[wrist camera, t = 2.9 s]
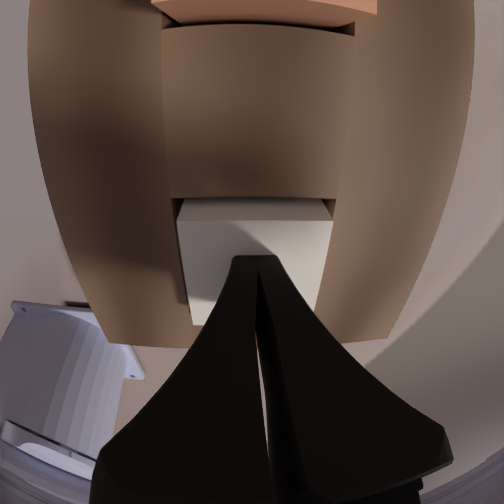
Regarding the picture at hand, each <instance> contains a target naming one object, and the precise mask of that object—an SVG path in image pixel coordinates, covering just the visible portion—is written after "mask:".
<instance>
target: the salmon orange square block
mask: <svg viewBox="0 0 504 504" xmlns="http://www.w3.org/2000/svg"><path fill="white" fill-rule="evenodd" d="M151 3H152V4H153V5H155V6H156V7H158V8H159V9H160V10H162V11H163V12H165V13H166V14H168V15H169V16H170V17H172V18H173V19H175V20H176V21H177V22H179V23H180V24H181V25H182V24H192V23H206V22H270V23H284V24H295V25H304V26H312V27H319V28H325V29H334V28H337V27H340V26H343V25H345V24H348V23H352V22H355V21H358V20H361V19H364V18H368V17H371V16H375V15H377V0H151Z"/></svg>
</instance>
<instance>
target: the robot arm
mask: <svg viewBox="0 0 504 504" xmlns="http://www.w3.org/2000/svg"><path fill="white" fill-rule="evenodd" d="M11 307H12V309H13V311H14V312H15V315H14V317H13V318H12V320H11V322H10V324H9V326H8V328H7V329H6V331H5V333H4V335H3V337H2V339H1V341H0V504H504V447H503V448H502V449H500V450H499V451H497V452H496V453H494V454H493V455H491V456H490V457H488V458H487V459H486V461H485V462H483V463H481V464H480V465H478V466H477V467H475V468H473V469H471V470H470V471H468V472H466V473H464V474H463V475H461V476H459V477H457V478H455V479H453V480H451V481H450V482H448V483H445V484H443V485H441V486H439V487H437V488H435V489H433V490H431V491H429V492H426V493H424V494H422V495H419V492H418V491H419V490H421V489H423V482H422V477H424V476H427V475H429V474H431V473H433V472H436V471H438V470H440V469H442V468H444V467H446V466H448V465H450V464H452V462H453V460H454V459H453V455H452V451H451V447H450V444H449V440H448V438H447V435H446V432H445V430H444V428H443V426H441V425H440V424H438V423H437V422H435V421H433V420H432V419H430V418H429V417H427V416H426V415H424V414H422V413H421V412H419V411H418V410H416V409H415V408H413V407H412V406H410V405H409V404H407V403H406V402H405V401H403V400H402V399H401V398H399V397H398V396H397V395H395V394H394V393H393V392H391V391H390V390H389V389H388V388H387V387H386V386H384V385H383V384H382V383H381V382H380V381H378V379H376V378H375V377H374V376H373V375H372V374H370V373H369V372H368V371H367V370H366V369H365V368H364V367H363V366H362V365H361V364H360V363H358V362H357V361H356V360H355V359H354V358H353V357H352V356H351V355H350V354H349V353H348V352H347V351H346V349H345V348H344V347H343V346H342V345H341V344H340V343H339V342H338V341H337V340H336V339H335V338H334V336H333V335H332V334H331V333H330V332H329V331H328V329H327V328H326V327H325V326H324V325H323V323H322V322H321V321H320V320H319V318H318V317H317V316H316V315H315V313H314V312H313V311H312V309H311V308H310V307H309V305H308V304H307V302H306V301H305V299H304V298H303V297H302V295H301V294H300V292H299V291H298V289H297V288H296V286H295V285H294V283H293V282H292V280H291V279H290V277H289V275H288V274H287V272H286V270H285V269H284V267H283V265H282V263H281V261H280V259H279V258H278V257H277V256H276V255H235V256H234V257H233V258H232V262H231V266H230V270H229V273H228V276H227V278H226V281H225V284H224V286H223V288H222V290H221V293H220V295H219V297H218V299H217V302H216V304H215V306H214V308H213V310H212V311H211V313H210V315H209V317H208V319H207V321H206V322H205V324H204V326H203V328H202V330H201V331H200V333H199V335H198V336H197V338H196V340H195V341H194V343H193V344H192V346H191V347H190V349H189V350H188V352H187V353H186V355H185V356H184V358H183V359H182V360H181V362H180V363H179V364H178V366H177V367H176V369H175V370H174V371H173V373H172V374H171V375H170V377H169V378H168V379H167V380H166V382H165V383H164V384H163V385H162V387H161V388H160V389H159V390H158V391H157V392H156V393H155V395H154V396H153V397H152V398H151V399H150V400H149V401H148V402H147V404H146V405H145V406H144V407H143V408H142V409H141V410H140V411H139V413H138V414H137V415H136V416H135V417H134V418H133V419H132V420H131V421H130V422H129V423H128V424H127V425H126V426H125V427H123V428H122V429H121V430H120V431H119V432H118V433H117V434H116V435H115V436H114V437H113V438H112V435H113V429H114V424H115V419H116V413H117V408H118V403H119V399H120V394H121V389H122V385H123V380H124V378H129V379H138V380H142V379H144V376H145V374H144V372H143V370H142V368H141V366H140V364H139V362H138V360H137V358H136V356H135V354H134V352H133V350H132V348H131V346H130V345H124V344H114V343H109V342H108V340H107V339H106V337H105V335H104V333H103V331H102V329H101V327H100V325H99V323H98V321H97V319H96V317H95V315H94V313H93V311H92V309H91V308H80V307H68V306H58V305H47V304H39V303H30V302H22V301H13V302H12V303H11ZM255 333H256V335H255ZM256 339H257V346H258V352H259V359H260V365H261V371H262V377H263V384H264V390H265V399H266V414H267V432H268V451H267V443H266V435H265V426H264V417H263V408H262V399H261V389H260V379H259V368H258V358H257V346H256ZM268 453H269V459H268Z"/></svg>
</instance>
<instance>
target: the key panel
mask: <svg viewBox="0 0 504 504" xmlns="http://www.w3.org/2000/svg"><path fill="white" fill-rule="evenodd" d="M474 41H475V22H474V0H377V15H375V16H371V17H368V18H364V19H361V20H358V21H355V22H352V23H348V24H345V25H343V26H340V27H337V28H334V29H325V28H319V27H312V26H304V25H295V24H284V23H270V22H206V23H192V24H182V25H181V24H180V23H179V22H177V21H176V20H175V19H173V18H172V17H170V16H169V15H168V14H166V13H165V12H163V11H162V10H160V9H159V8H158V7H156V6H155V5H153V4H152V3H151V0H30V9H29V22H28V75H29V90H30V100H31V109H32V116H33V124H34V130H35V136H36V142H37V147H38V153H39V157H40V162H41V167H42V171H43V175H44V179H45V183H46V187H47V191H48V195H49V198H50V202H51V205H52V209H53V212H54V215H55V218H56V222H57V225H58V228H59V231H60V234H61V237H62V239H63V242H64V245H65V248H66V250H67V253H68V256H69V258H70V261H71V263H72V266H73V268H74V271H75V273H76V276H77V278H78V280H79V283H80V285H81V287H82V290H83V292H84V294H85V296H86V298H87V301H88V303H89V305H90V307H91V309H92V311H93V313H94V315H95V317H96V319H97V321H98V323H99V325H100V327H101V329H102V331H103V333H104V335H105V337H106V339H107V340H108V342H109V343H114V344H124V345H136V346H149V347H166V348H190V347H191V346H192V344H193V343H194V341H195V340H196V338H197V336H198V335H199V333H200V331H201V330H202V328H203V326H204V325H193V321H192V316H191V311H190V305H189V300H188V294H187V288H186V282H185V276H184V270H183V264H182V257H181V251H180V244H179V237H178V229H177V222H176V221H177V218H178V216H179V213H180V210H181V207H182V204H183V202H184V199H185V198H201V197H295V198H321V199H322V201H323V203H324V205H325V206H326V208H327V210H328V212H329V214H330V216H331V217H332V219H333V221H334V222H333V227H332V232H331V237H330V242H329V247H328V252H327V256H326V261H325V266H324V270H323V275H322V279H321V283H320V288H319V292H318V296H317V300H316V304H315V308H314V313H315V315H316V316H317V317H318V318H319V320H320V321H321V322H322V323H323V325H324V326H325V327H326V328H327V329H328V331H329V332H330V333H331V334H332V335H333V336H334V338H335V339H336V340H337V341H338V342H339V343H340V344H341V343H351V342H360V341H368V340H376V339H383V338H387V337H388V335H389V334H390V332H391V330H392V328H393V326H394V324H395V323H396V321H397V319H398V317H399V315H400V313H401V311H402V309H403V307H404V305H405V303H406V301H407V299H408V297H409V295H410V293H411V291H412V289H413V286H414V284H415V282H416V280H417V278H418V275H419V273H420V271H421V269H422V266H423V264H424V262H425V259H426V257H427V254H428V252H429V249H430V247H431V244H432V242H433V239H434V236H435V234H436V231H437V228H438V225H439V223H440V220H441V217H442V214H443V211H444V208H445V205H446V202H447V199H448V195H449V192H450V189H451V185H452V182H453V178H454V174H455V171H456V167H457V163H458V159H459V155H460V150H461V146H462V141H463V136H464V131H465V126H466V121H467V115H468V109H469V102H470V94H471V86H472V76H473V64H474ZM255 335H256V333H255ZM256 346H257V339H256ZM257 349H258V346H257Z"/></svg>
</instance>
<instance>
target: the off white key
mask: <svg viewBox="0 0 504 504" xmlns="http://www.w3.org/2000/svg"><path fill="white" fill-rule="evenodd" d="M176 222H177V229H178V237H179V244H180V251H181V257H182V264H183V270H184V276H185V282H186V288H187V294H188V300H189V305H190V311H191V316H192V321H193V325H204V324H205V322H206V321H207V319H208V317H209V315H210V313H211V311H212V310H213V308H214V306H215V304H216V302H217V299H218V297H219V295H220V293H221V290H222V288H223V286H224V284H225V281H226V278H227V276H228V273H229V270H230V266H231V262H232V258H233V257H234V256H235V255H276V256H277V257H278V258H279V259H280V261H281V263H282V265H283V267H284V269H285V270H286V272H287V274H288V275H289V277H290V279H291V280H292V282H293V283H294V285H295V286H296V288H297V289H298V291H299V292H300V294H301V295H302V297H303V298H304V299H305V301H306V302H307V304H308V305H309V307H310V308H311V309H312V311H313V312H314V308H315V304H316V300H317V296H318V292H319V288H320V283H321V279H322V275H323V270H324V266H325V261H326V256H327V252H328V247H329V242H330V237H331V232H332V227H333V222H334V221H333V219H332V217H331V216H330V214H329V212H328V210H327V208H326V206H325V205H324V203H323V201H322V199H321V198H295V197H201V198H185V199H184V202H183V204H182V207H181V210H180V213H179V216H178V218H177V221H176Z"/></svg>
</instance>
